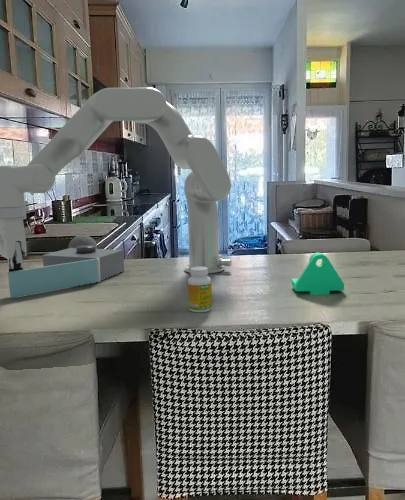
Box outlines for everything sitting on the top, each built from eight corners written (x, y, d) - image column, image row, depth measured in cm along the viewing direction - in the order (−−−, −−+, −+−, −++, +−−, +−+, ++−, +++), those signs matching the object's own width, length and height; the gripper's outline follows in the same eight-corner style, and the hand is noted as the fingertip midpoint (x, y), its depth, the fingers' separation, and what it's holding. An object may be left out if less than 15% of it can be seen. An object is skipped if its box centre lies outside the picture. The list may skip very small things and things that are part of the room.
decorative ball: (69, 261, 173) (67, 234, 171) (97, 259, 175) (96, 232, 174) (68, 266, 164) (66, 237, 162) (98, 264, 166) (96, 236, 164)
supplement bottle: (201, 314, 106) (200, 271, 105) (183, 310, 110) (182, 268, 108) (216, 308, 110) (215, 267, 109) (199, 304, 114) (197, 264, 112)
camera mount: (336, 287, 128) (336, 249, 126) (344, 294, 120) (345, 254, 118) (291, 287, 128) (291, 250, 126) (296, 295, 120) (296, 255, 119)
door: (99, 281, 140) (98, 258, 139) (101, 281, 139) (100, 258, 138) (10, 297, 124) (7, 271, 123) (11, 298, 123) (9, 272, 122)
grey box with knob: (124, 271, 153) (122, 245, 152) (99, 281, 140) (97, 252, 139) (72, 268, 161) (70, 243, 159) (44, 277, 148) (42, 250, 146)
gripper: (-11, 213, 128) (-5, 280, 131) (2, 217, 116) (9, 290, 119) (18, 211, 132) (23, 275, 136) (33, 214, 120) (39, 285, 123)
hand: (17, 282), depth 127 cm, fingers closed
